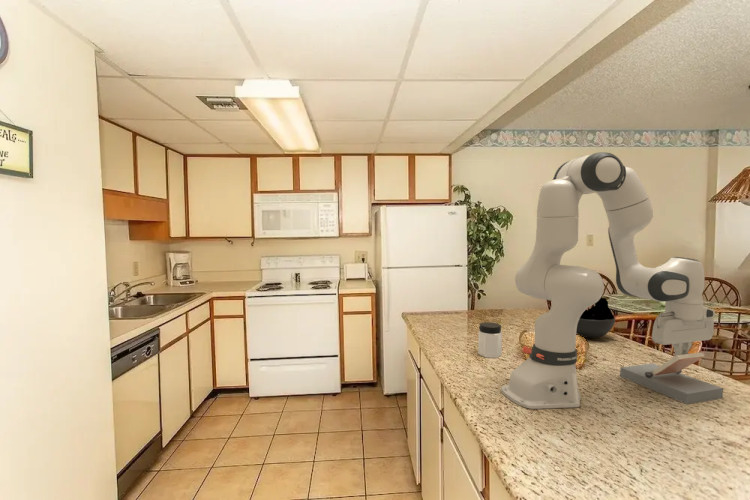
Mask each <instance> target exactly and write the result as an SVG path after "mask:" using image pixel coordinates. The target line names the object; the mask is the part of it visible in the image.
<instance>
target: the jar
mask: <svg viewBox="0 0 750 500" xmlns="http://www.w3.org/2000/svg"><path fill="white" fill-rule="evenodd" d="M477 337H478V338H477V339H478V340H477V341H478V344H477V347H478V349H477V354H478V355H480V356H482V357H484V358H488V359H498V358H499V357H501V356H502V354H503V353H502V351H503V350H502V347H503V332H502V325H501V324H499V323H496V322H489V321H487V322H485V321H483V322H480V323H479V330H478V335H477Z"/></svg>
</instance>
